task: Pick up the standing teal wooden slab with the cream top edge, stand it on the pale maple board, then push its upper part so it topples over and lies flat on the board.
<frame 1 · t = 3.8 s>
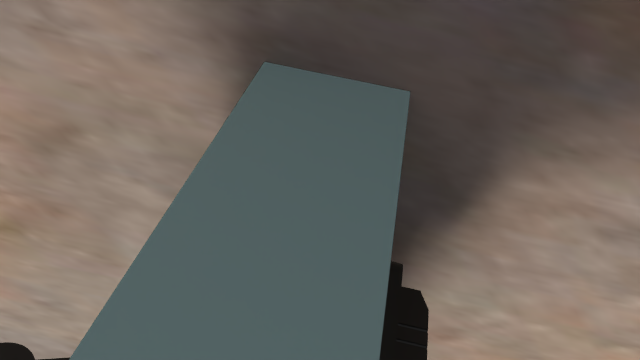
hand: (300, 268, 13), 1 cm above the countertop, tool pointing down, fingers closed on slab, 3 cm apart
slab: (312, 229, 14), on the countertop, touching gripper
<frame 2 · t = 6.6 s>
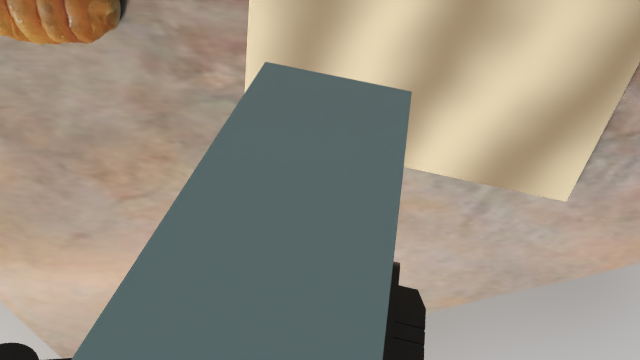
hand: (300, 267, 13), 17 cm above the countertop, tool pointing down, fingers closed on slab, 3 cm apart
board: (433, 38, 26), on the countertop
slab: (312, 230, 14), point 15 cm above the countertop, touching gripper
when the fingers open (3 cm above the countertop, at t = 9.3 s): slab stays where it is, resting on board.
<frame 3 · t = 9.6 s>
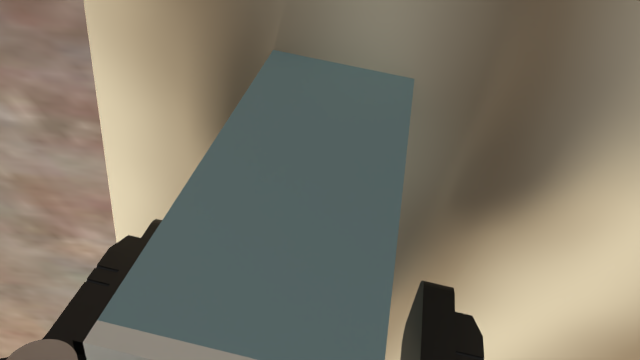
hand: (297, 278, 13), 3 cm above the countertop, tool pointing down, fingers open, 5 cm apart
board: (425, 218, 15), on the countertop
slab: (317, 215, 15), point 1 cm above the countertop, touching board
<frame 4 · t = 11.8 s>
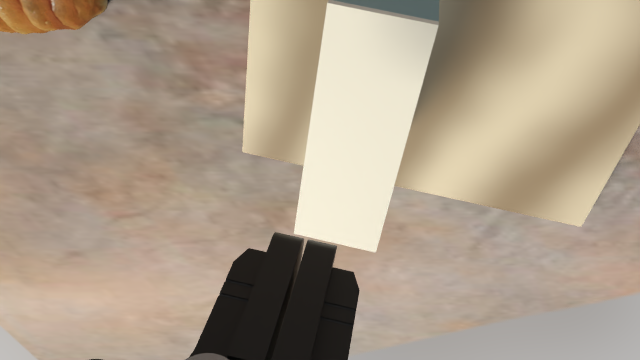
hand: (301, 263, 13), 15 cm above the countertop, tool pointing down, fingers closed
board: (443, 57, 25), on the countertop
slab: (378, 52, 24), point 1 cm above the countertop, touching board
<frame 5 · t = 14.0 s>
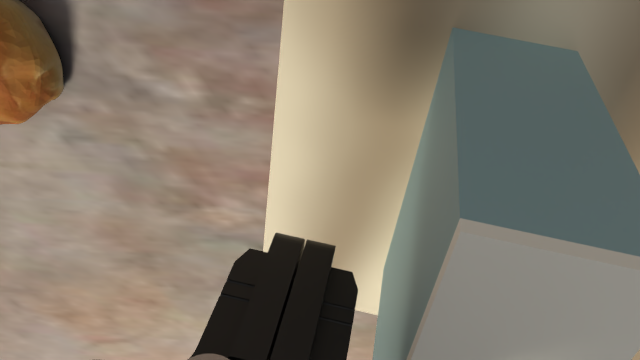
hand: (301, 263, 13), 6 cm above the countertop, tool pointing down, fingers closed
board: (555, 180, 17), on the countertop
slab: (464, 178, 17), point 1 cm above the countertop, touching board, gripper
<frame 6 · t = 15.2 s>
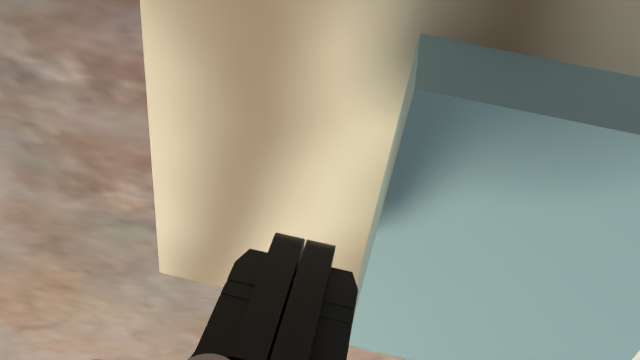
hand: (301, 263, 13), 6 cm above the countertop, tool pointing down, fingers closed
board: (427, 164, 17), on the countertop
slab: (379, 203, 15), point 3 cm above the countertop, tilted 90°, touching board
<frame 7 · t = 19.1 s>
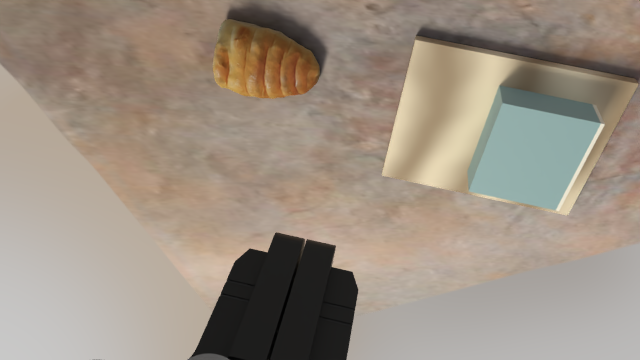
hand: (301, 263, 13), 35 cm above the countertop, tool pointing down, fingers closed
board: (496, 128, 49), on the countertop
pastry: (264, 53, 49), on the countertop
slab: (483, 139, 47), point 3 cm above the countertop, tilted 90°, touching board
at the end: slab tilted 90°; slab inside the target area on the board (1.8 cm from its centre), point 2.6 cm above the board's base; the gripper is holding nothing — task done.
